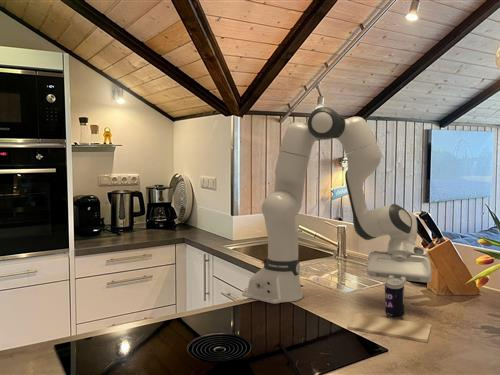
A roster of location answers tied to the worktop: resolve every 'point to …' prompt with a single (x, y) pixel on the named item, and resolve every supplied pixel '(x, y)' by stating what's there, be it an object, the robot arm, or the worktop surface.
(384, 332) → the folded beige cloth
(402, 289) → the beverage can
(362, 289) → the worktop surface
